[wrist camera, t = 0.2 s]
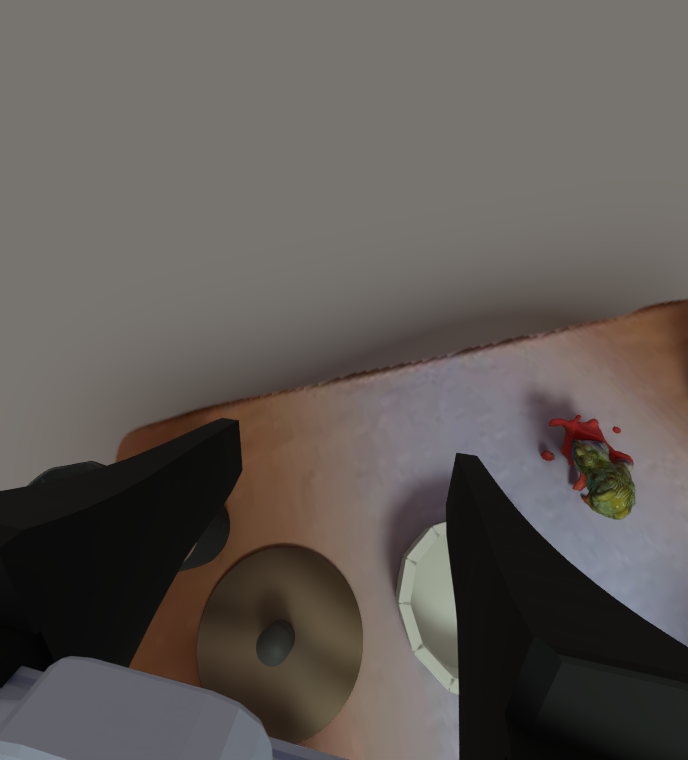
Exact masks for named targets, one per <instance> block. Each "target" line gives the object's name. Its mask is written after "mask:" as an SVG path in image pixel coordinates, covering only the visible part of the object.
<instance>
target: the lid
mask: <svg viewBox="0 0 688 760" xmlns="http://www.w3.org/2000/svg"><path fill="white" fill-rule="evenodd" d="M362 651H363V631H362V622H361V617H360V612H359V609H358V605H357V602H356V599H355V597H354V595H353V593H352V591H351V589H350V587H349V585H348V584H347V582H346V581H345V579H344V578H343V577H342V575H341V574H340V573H339V572H338V571H337V570H336V569H335V568H334V567H333V566H332V565H331V564H330V563H329V562H327V561H326V560H325V559H323V558H322V557H320V556H318V555H316V554H314V553H312V552H309V551H307V550H304V549H299V548H294V547H278V548H271V549H267V550H263V551H260V552H258V553H255V554H253V555H251V556H249V557H247V558H245V559H244V560H242V561H241V562H240V563H238V564H237V565H236V566H234V567H233V568H232V569H231V570H230V571H229V572H228V573H227V574H226V575H225V576H224V578H223V579H222V580H221V581H220V582H219V584H218V585H217V587H216V588H215V590H214V591H213V593H212V595H211V597H210V599H209V601H208V603H207V605H206V608H205V610H204V613H203V616H202V619H201V623H200V627H199V633H198V639H197V665H198V671H199V677H200V681H201V684H202V688H203V689H207V690H211V691H214V692H216V693H218V694H221V695H223V696H225V697H228V698H230V699H232V700H235V701H237V702H239V703H241V704H242V705H243V706H244V707H246V708H247V709H248V710H249V711H250V712H252V713H253V714H254V715H255V716H256V717H258V718H259V719H260V720H261V722H262V724H263V726H264V729H265V731H266V733H267V735H268V737H272V738H275V739H279V740H282V741H286V742H289V743H297V742H300V741H302V740H304V739H307V738H309V737H311V736H313V735H314V734H316V733H317V732H319V731H320V730H322V729H323V728H324V727H325V726H326V725H327V724H329V723H330V722H331V721H332V720H333V719H334V717H335V716H336V715H337V714H338V713H339V712H340V710H341V709H342V707H343V706H344V704H345V703H346V701H347V700H348V698H349V696H350V694H351V692H352V690H353V687H354V685H355V682H356V680H357V677H358V673H359V669H360V665H361V659H362Z"/></svg>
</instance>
